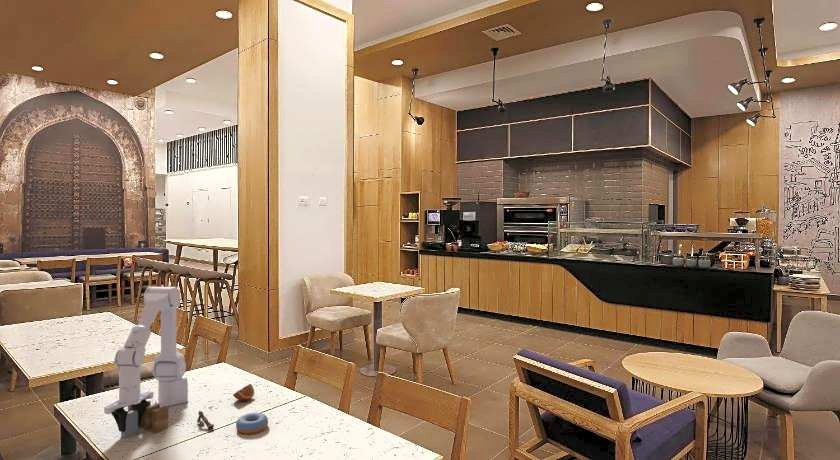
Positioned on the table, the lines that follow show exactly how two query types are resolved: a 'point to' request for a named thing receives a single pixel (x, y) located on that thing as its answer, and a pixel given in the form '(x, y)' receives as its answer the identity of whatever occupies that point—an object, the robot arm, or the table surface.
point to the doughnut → (252, 423)
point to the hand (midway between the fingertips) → (129, 428)
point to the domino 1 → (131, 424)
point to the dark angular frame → (204, 421)
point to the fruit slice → (245, 393)
